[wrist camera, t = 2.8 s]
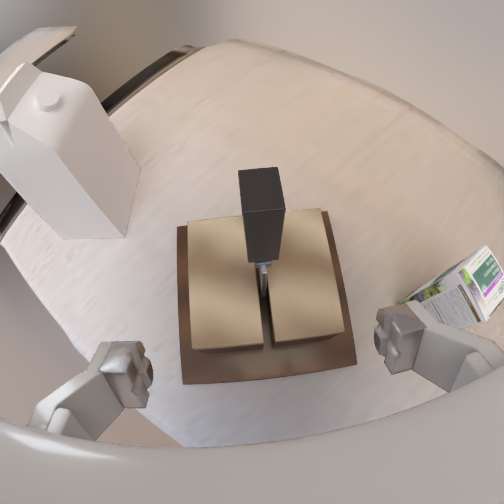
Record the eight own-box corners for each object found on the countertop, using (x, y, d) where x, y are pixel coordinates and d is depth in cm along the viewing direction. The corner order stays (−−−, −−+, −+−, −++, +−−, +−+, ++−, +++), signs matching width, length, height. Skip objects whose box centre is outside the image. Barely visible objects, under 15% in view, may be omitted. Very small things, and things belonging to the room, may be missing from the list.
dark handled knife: (275, 295, 28) (287, 219, 15) (252, 297, 28) (243, 224, 14) (270, 256, 30) (276, 158, 16) (248, 259, 30) (237, 161, 16)
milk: (83, 177, 44) (6, 65, 20) (141, 170, 44) (73, 32, 20) (64, 240, 39) (-46, 135, 15) (125, 238, 39) (14, 101, 15)
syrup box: (422, 284, 35) (485, 239, 22) (443, 319, 33) (514, 288, 20) (393, 307, 34) (456, 268, 21) (416, 344, 32) (487, 323, 19)
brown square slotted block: (354, 364, 32) (379, 361, 24) (184, 384, 31) (163, 387, 24) (326, 214, 39) (338, 179, 32) (178, 229, 39) (161, 197, 32)
